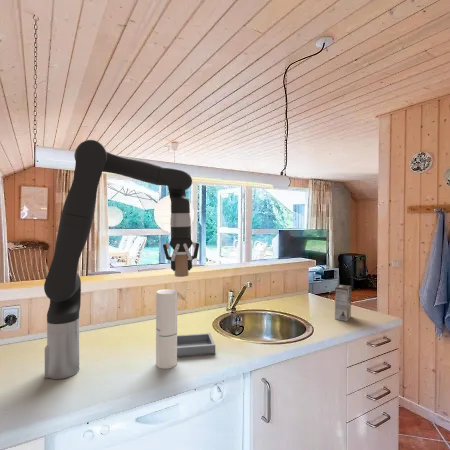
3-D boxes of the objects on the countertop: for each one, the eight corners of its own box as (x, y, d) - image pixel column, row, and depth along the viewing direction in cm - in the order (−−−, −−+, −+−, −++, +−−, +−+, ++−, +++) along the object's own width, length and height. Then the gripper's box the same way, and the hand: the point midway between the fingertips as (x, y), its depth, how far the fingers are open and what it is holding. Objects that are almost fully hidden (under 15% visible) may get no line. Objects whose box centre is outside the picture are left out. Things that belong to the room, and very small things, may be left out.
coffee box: (338, 314, 165) (338, 284, 164) (351, 316, 161) (351, 285, 161) (334, 319, 157) (334, 287, 156) (347, 321, 153) (348, 289, 153)
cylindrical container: (167, 356, 112) (168, 288, 112) (181, 362, 108) (181, 291, 107) (151, 364, 107) (151, 291, 106) (165, 370, 102) (165, 295, 102)
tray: (174, 357, 112) (174, 348, 112) (172, 344, 124) (172, 335, 123) (215, 354, 115) (215, 345, 115) (210, 341, 127) (210, 333, 127)
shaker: (175, 277, 114) (174, 252, 114) (174, 274, 120) (173, 251, 119) (189, 276, 116) (188, 252, 115) (187, 273, 121) (187, 250, 120)
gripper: (161, 226, 112) (162, 273, 112) (201, 225, 115) (201, 271, 115) (161, 225, 119) (162, 269, 120) (198, 224, 122) (199, 267, 123)
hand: (181, 270), depth 117 cm, fingers closed on shaker, 5 cm apart
